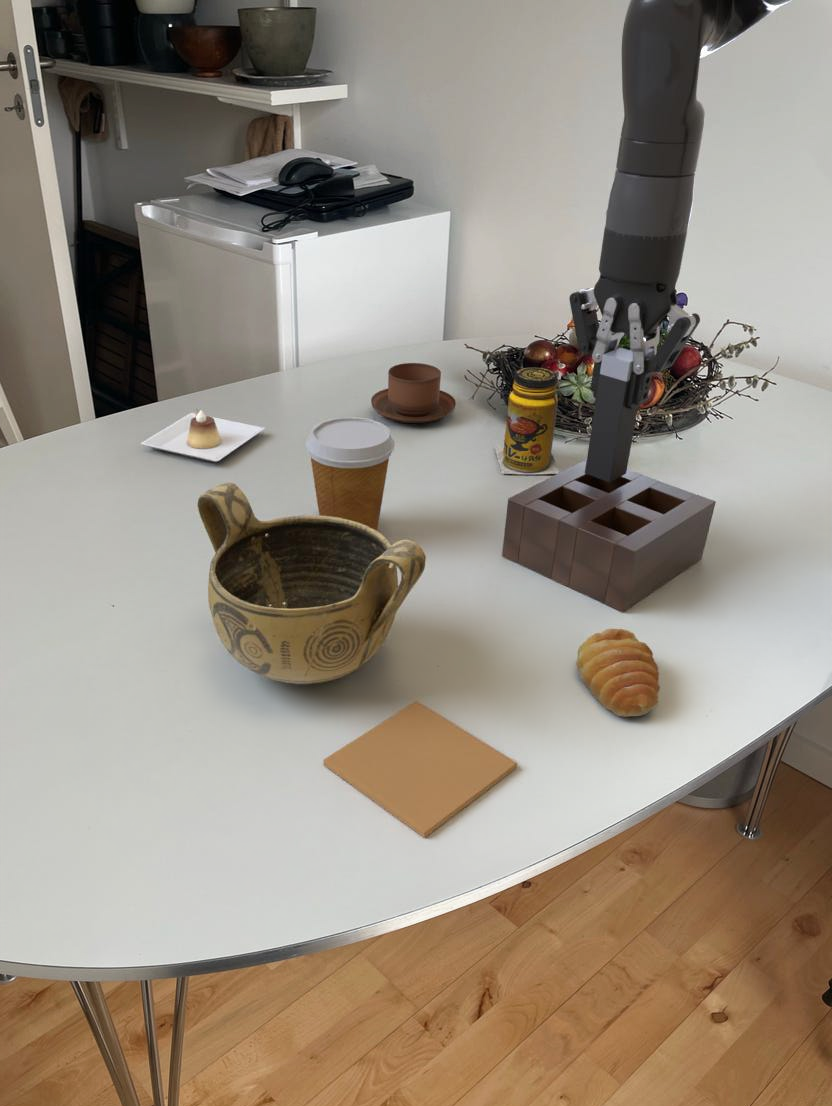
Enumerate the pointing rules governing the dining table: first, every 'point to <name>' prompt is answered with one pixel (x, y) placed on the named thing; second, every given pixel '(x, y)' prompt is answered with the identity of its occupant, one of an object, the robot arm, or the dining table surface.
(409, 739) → the cork mat
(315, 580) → the ceramic bowl
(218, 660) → the dining table surface
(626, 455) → the grey-capped tall post
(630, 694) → the pastry
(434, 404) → the cup and saucer
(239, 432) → the dessert
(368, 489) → the disposable coffee cup
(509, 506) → the holder
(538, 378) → the condiment
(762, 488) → the dining table surface
